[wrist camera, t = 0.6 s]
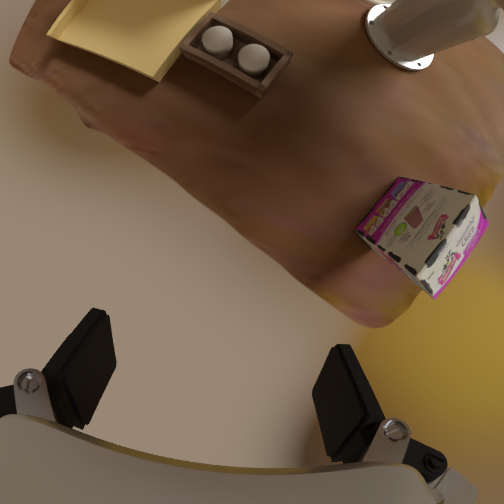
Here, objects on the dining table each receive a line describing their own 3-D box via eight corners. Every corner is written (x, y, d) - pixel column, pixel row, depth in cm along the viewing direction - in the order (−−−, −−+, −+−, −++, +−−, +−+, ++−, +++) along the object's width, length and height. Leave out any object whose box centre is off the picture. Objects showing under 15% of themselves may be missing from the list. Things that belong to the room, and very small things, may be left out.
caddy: (213, 24, 27) (210, 10, 22) (287, 64, 29) (293, 52, 25) (185, 58, 28) (178, 46, 24) (260, 99, 31) (263, 90, 27)
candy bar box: (373, 250, 38) (434, 303, 23) (353, 229, 37) (414, 277, 22) (417, 197, 36) (491, 225, 20) (399, 174, 35) (476, 192, 19)
